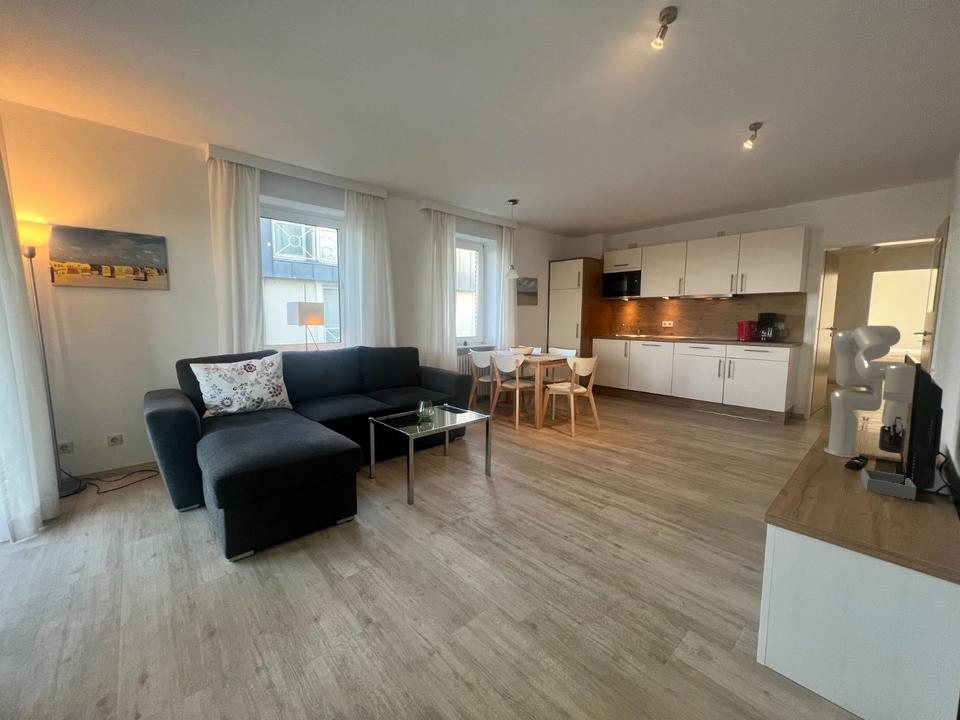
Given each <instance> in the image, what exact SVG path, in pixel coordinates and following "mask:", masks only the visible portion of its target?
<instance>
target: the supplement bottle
mask: <svg viewBox="0 0 960 720" xmlns="http://www.w3.org/2000/svg"><path fill="white" fill-rule="evenodd" d="M893 427H896V426H893ZM893 430H894V429H893ZM889 434H890V426H889V427H886V426H885V425H884V424H883V425H882V426H881V427H880V429H879V438H878V446H877V447H878V449H879V450H880V451H883V452H886V453H893V454H903V453H904V452H905V446H906V439H907V430H906V428H903V429H902V438H901V446H893V445H889V444H888V439H889Z"/></svg>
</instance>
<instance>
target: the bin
mask: <svg viewBox="0 0 960 720" xmlns="http://www.w3.org/2000/svg"><path fill="white" fill-rule="evenodd" d="M860 477H861V478H860V481H861V483H862V484H863V487H864V489H865V491H866V492H867V493H874V494H879V495H883V494H884V496H888V495H890V496H889V497H894V496H896V497H895V498H899V497H900V499H904V498H907V499H906V500H909V499H912V500H911V501H914V500H916V494H917V485H915V484H914V483H913V481H912V480H911V479H910V478H906V479H905V485H903V484H900V483H902V482H903V481H904V474H898V473H892V472H885V471H880V470H873V469H868V468H862V469H861V476H860ZM892 482H894V483H892Z"/></svg>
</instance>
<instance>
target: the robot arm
mask: <svg viewBox="0 0 960 720" xmlns="http://www.w3.org/2000/svg"><path fill="white" fill-rule="evenodd" d="M900 340H901V332H900V330H899V329H898V328H897V327H896V326H893V325H862V326H859V327H857V328H856V329H854V330H853V329H852V330H850V329H849V330H842V331H837V332H836V333H835V334H834V335H833V339H832V347H833V350H834V353H835V356H836V363H835V364H836V365H835V366H836V367H835V382H836V383H837V385H838V386H841V387H844V388H845V387H846V388H847V387H848V388H862V389H863V388H864V389H865V390H861V389H860V390H859V389H858V390H857V389H846V388H845V389H837V390H833V392H832V393H831V394H830V403H831V404H830V405H831V418H830V428H829V437H828V438H829V439H828V446H826V447H824V448H823V451H824V452H825V453H827V454H829V455H833V456H836V457H841V458H847V459H855V458H854V457H857V458H859V457H860V454H859V452H856V447H857V446H856V444H857V436H858V427H859V418H858V417H857V416H856V414H855V413H854V412H853V411H861V412H863V411H864V412H876V411H879V410H880V409H881V407H882V402H883V401H884V404H883V410H882V414H881V423H882V424H883V426H884V425H885V426H886V427H889V426H890V434H889V439H888V444H889V445H893V446H901V438H902V429H903V428H904V429H906V428H905V427H906V422H907V414H908V404H911V403H913V402H912V401H913V396H914V395H913V394H914V388H915V380H916V379H915V378H916V369H917V368H916V367H915V366H914V365H909V364H908V363H905V362H903V361H883V360H881V361H880V360H879V359H882V358H883V357H885V356H887V355H888V354H889V352H890V350H891V347H893V346H896V345H897V344H898V343H899V342H900ZM855 349H856V350H857V349H859V351H856V350H855ZM878 360H879V361H878ZM883 381H884V384H883ZM893 426H896V427H893ZM893 429H894V430H893Z"/></svg>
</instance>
